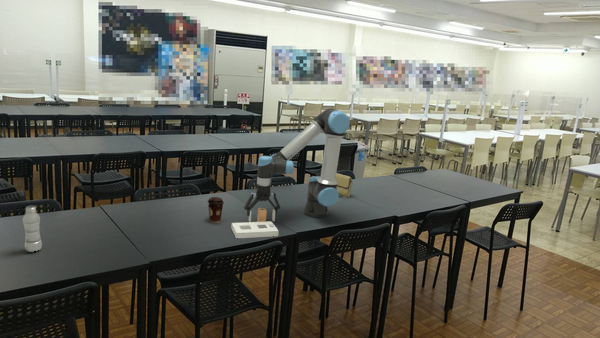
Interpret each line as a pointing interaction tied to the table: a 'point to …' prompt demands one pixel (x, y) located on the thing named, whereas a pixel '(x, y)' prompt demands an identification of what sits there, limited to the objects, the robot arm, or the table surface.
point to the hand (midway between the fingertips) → (261, 221)
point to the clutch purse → (342, 184)
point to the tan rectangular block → (261, 215)
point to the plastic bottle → (32, 229)
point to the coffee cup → (215, 209)
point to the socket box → (254, 229)
